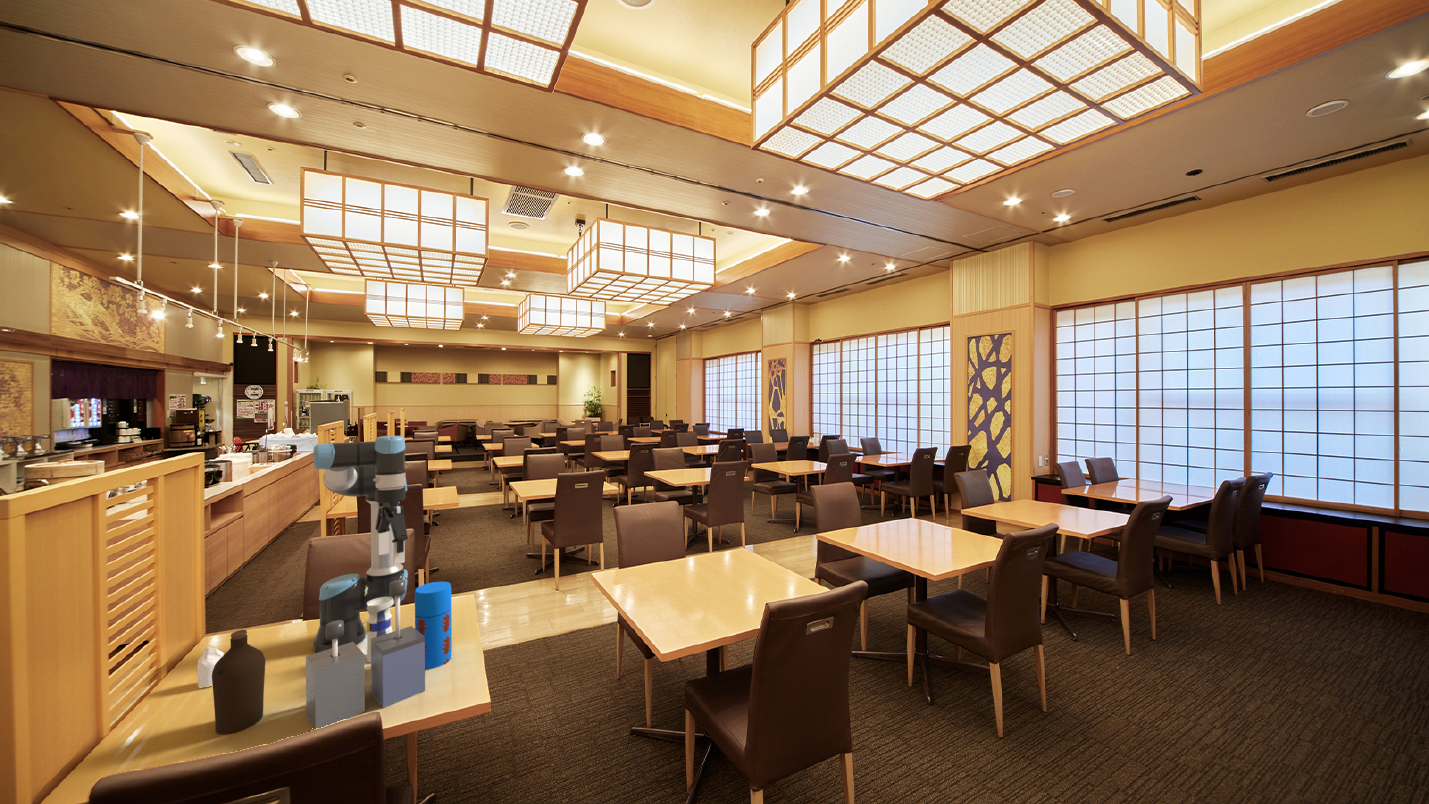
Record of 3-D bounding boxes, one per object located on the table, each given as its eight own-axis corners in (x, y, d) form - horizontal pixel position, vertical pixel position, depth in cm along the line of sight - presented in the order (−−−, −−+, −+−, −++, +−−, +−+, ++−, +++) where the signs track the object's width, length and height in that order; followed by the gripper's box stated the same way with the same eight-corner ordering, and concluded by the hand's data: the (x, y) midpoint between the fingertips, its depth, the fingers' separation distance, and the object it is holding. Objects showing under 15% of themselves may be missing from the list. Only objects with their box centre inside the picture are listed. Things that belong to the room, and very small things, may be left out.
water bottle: (367, 666, 165) (366, 591, 165) (363, 656, 171) (363, 584, 171) (396, 657, 170) (395, 585, 170) (391, 648, 177) (391, 578, 176)
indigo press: (367, 688, 152) (366, 634, 152) (407, 673, 161) (406, 622, 160) (383, 708, 142) (382, 650, 142) (425, 690, 151) (424, 636, 151)
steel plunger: (313, 695, 140) (312, 624, 139) (349, 682, 146) (348, 614, 146) (320, 707, 134) (319, 633, 134) (357, 693, 141) (356, 622, 140)
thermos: (435, 671, 162) (434, 594, 161) (407, 667, 164) (406, 592, 164) (459, 654, 172) (458, 582, 172) (432, 651, 174) (431, 580, 174)
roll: (227, 639, 159) (219, 647, 154) (227, 677, 159) (219, 686, 154) (202, 643, 156) (192, 652, 151) (202, 681, 156) (193, 691, 151)
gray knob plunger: (377, 649, 150) (376, 582, 149) (408, 638, 156) (407, 575, 156) (386, 658, 144) (385, 589, 144) (418, 647, 151) (417, 581, 150)
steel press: (303, 709, 142) (302, 651, 142) (349, 691, 150) (349, 637, 150) (315, 731, 132) (315, 670, 132) (364, 711, 141) (364, 654, 141)
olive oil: (258, 728, 134) (257, 636, 134) (205, 741, 129) (204, 645, 129) (271, 706, 143) (270, 620, 143) (221, 718, 138) (220, 628, 138)
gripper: (363, 484, 154) (363, 553, 154) (390, 494, 138) (390, 570, 138) (390, 481, 160) (391, 547, 160) (420, 490, 143) (420, 564, 144)
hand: (391, 558), depth 149 cm, fingers open, 13 cm apart
